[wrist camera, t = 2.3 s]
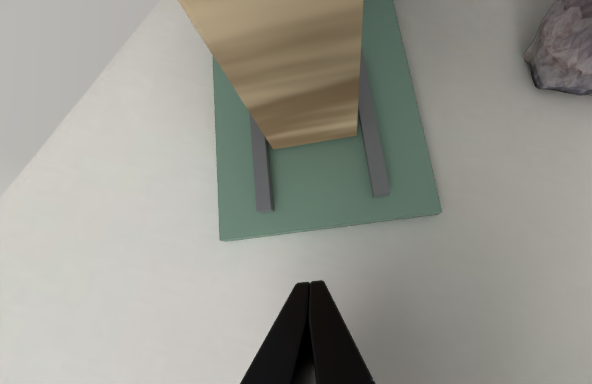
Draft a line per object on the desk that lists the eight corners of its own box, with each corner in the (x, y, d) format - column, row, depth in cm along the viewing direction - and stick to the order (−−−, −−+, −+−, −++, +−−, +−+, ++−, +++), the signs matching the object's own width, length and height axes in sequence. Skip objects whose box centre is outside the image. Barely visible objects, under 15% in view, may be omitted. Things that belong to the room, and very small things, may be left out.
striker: (356, 137, 21) (374, -209, 6) (273, 151, 22) (98, -121, 7) (349, 96, 22) (350, -298, 7) (269, 111, 23) (106, -211, 8)
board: (437, 214, 20) (446, 208, 19) (225, 241, 23) (213, 239, 21) (376, -55, 27) (378, -79, 25) (214, -14, 29) (204, -34, 27)
